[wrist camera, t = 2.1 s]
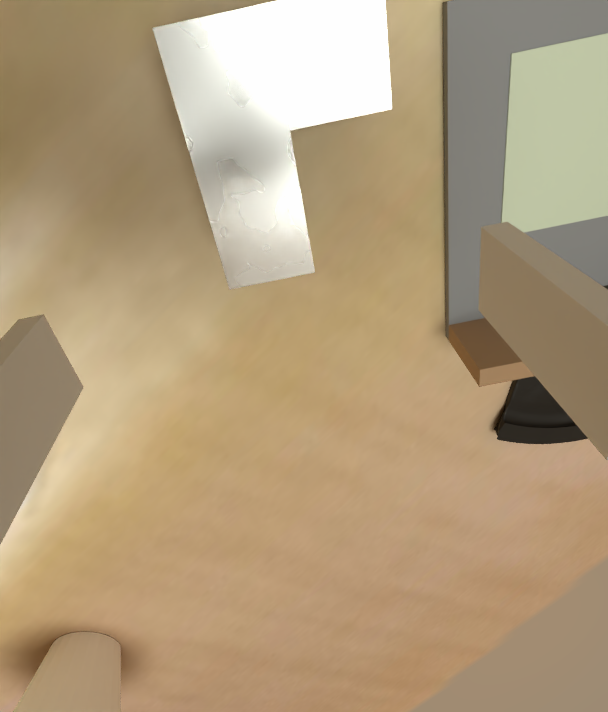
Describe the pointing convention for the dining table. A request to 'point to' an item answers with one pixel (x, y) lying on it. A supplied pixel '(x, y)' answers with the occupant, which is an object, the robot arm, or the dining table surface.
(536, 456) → the dining table surface
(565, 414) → the dark sector wedge
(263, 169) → the bracket
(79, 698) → the cup
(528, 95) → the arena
